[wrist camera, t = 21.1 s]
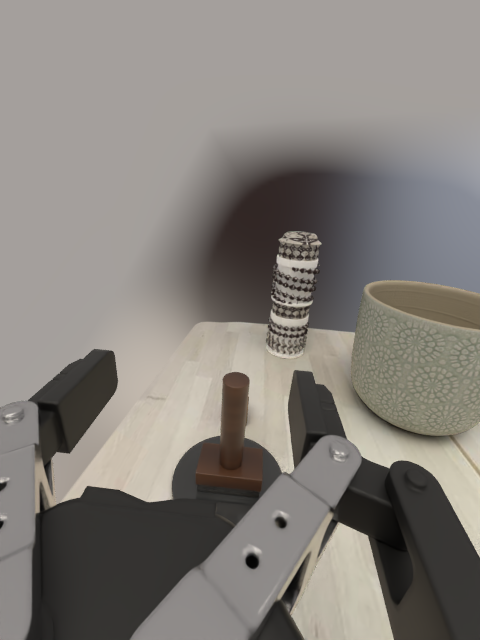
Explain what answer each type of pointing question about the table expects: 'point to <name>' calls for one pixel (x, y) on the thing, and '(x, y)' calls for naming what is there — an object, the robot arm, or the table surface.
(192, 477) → the plate
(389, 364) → the planter
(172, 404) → the table surface
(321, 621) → the table surface
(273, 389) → the table surface
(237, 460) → the wooden peg
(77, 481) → the table surface
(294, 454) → the robot arm
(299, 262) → the white patterned cylinder
